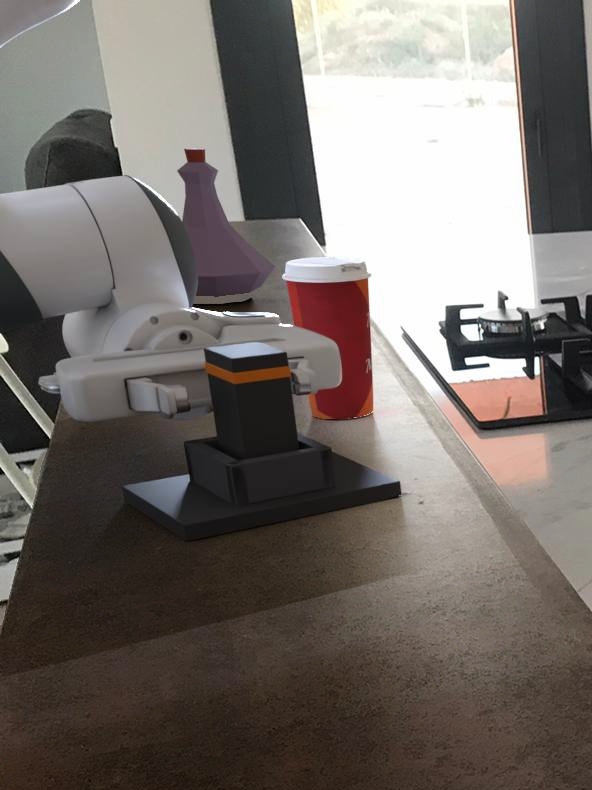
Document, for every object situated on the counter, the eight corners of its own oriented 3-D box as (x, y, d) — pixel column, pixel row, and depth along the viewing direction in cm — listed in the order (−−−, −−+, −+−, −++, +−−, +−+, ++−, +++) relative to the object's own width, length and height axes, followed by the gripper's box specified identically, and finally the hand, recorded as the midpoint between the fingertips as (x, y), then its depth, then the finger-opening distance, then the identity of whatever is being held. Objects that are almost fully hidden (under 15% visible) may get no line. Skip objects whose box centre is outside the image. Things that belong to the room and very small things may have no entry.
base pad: (186, 542, 87) (176, 482, 86) (124, 501, 95) (114, 446, 93) (402, 496, 98) (396, 442, 96) (329, 463, 105) (323, 413, 104)
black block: (250, 496, 93) (230, 359, 89) (222, 480, 96) (202, 348, 92) (305, 485, 96) (288, 351, 92) (275, 471, 99) (258, 341, 95)
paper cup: (402, 410, 122) (388, 260, 117) (338, 427, 116) (320, 269, 111) (345, 399, 126) (329, 253, 121) (280, 415, 120) (260, 261, 115)
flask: (284, 306, 176) (265, 152, 168) (152, 312, 169) (125, 152, 162) (274, 288, 189) (255, 145, 182) (151, 293, 183) (126, 145, 175)
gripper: (22, 337, 95) (84, 367, 86) (291, 310, 108) (369, 334, 99) (39, 421, 97) (101, 459, 88) (300, 384, 111) (377, 414, 101)
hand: (245, 392), depth 94 cm, fingers open, 8 cm apart
